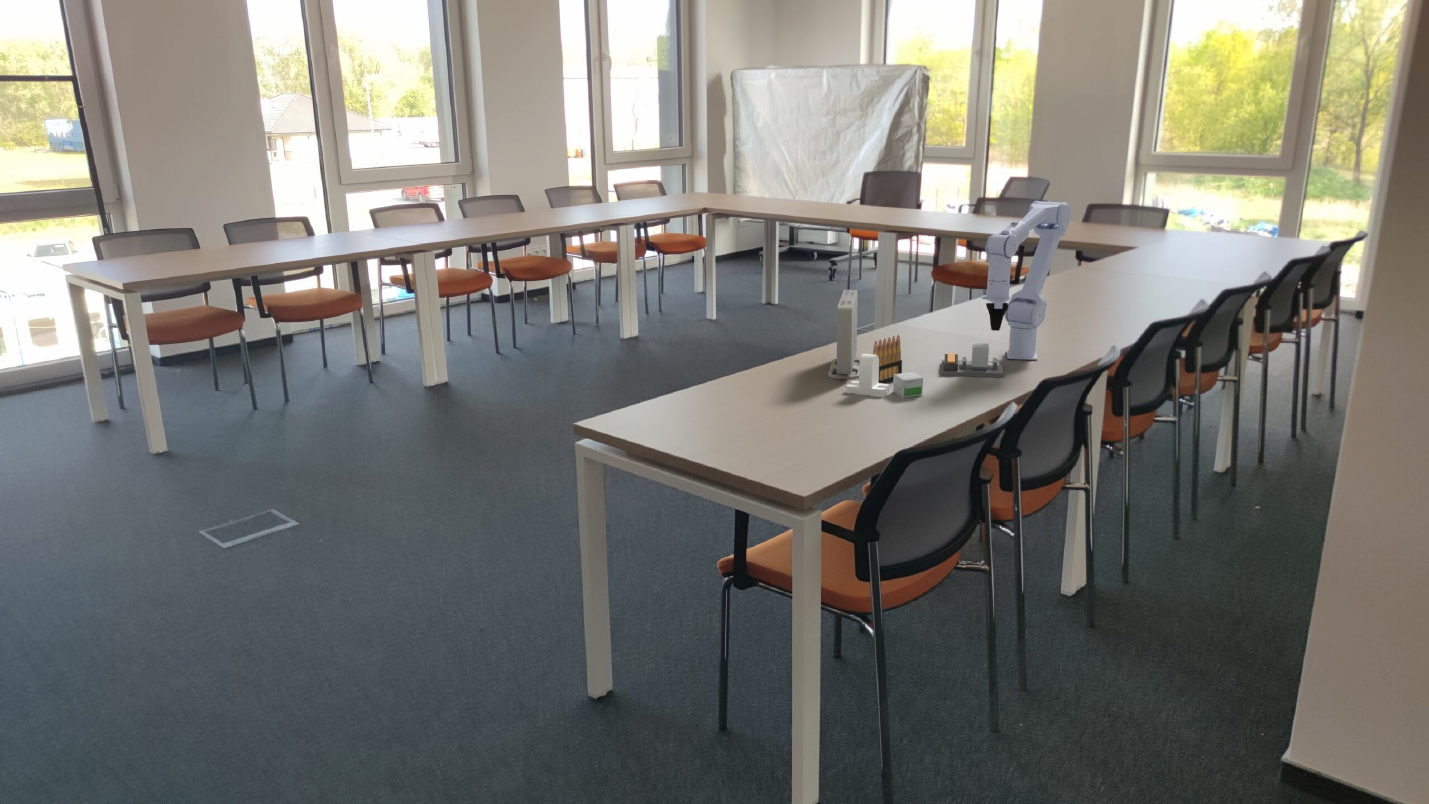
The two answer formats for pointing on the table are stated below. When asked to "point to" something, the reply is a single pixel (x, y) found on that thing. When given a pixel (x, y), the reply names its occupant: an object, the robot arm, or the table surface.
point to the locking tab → (951, 358)
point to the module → (980, 355)
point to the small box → (908, 384)
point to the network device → (846, 337)
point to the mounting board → (973, 371)
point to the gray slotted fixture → (966, 364)
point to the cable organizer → (868, 378)
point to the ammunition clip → (888, 358)
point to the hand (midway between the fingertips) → (995, 330)
